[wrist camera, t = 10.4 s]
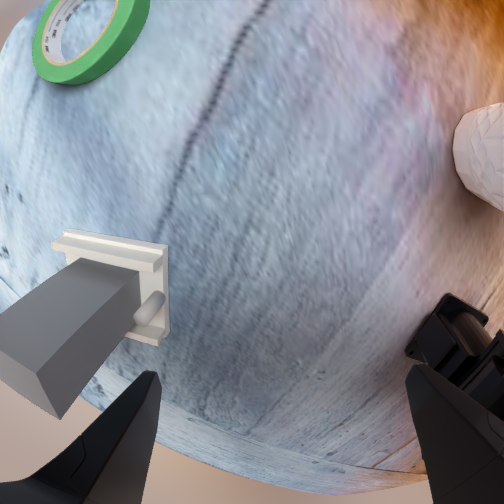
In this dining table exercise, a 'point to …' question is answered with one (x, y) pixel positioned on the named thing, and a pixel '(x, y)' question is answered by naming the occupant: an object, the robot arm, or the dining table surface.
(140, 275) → the tray
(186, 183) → the dining table surface
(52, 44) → the tape roll
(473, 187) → the white cup
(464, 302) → the robot arm
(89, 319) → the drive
